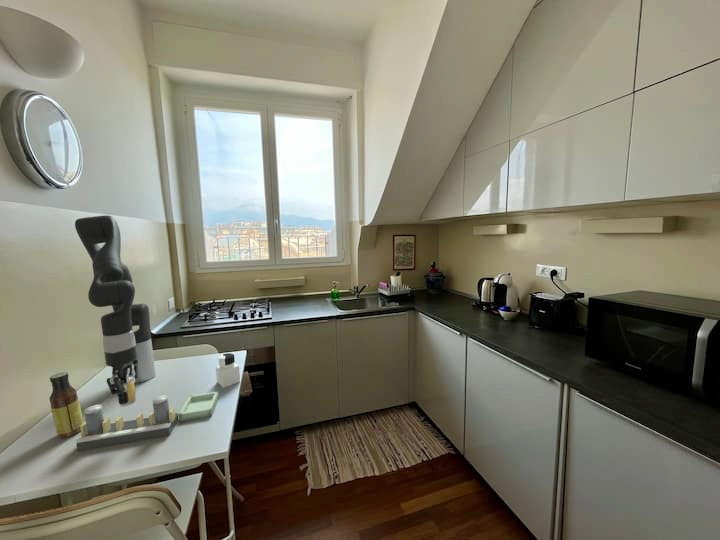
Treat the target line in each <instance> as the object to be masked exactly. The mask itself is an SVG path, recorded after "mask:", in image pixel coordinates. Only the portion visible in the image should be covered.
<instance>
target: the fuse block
mask: <svg viewBox="0 0 720 540" xmlns="http://www.w3.org/2000/svg"><path fill="white" fill-rule="evenodd" d="M178 414H179V413H178V412H176V411H175V407H172V408H170V409H169V419H170V421H169V422H168V423H165V424H159V425H155V417H154V410H153V411H151V412H150V413H149V415H148V417H145V418H144V412H140V413H138V415H137V416H136V417H135V419H132V420H126V421H124V418H123V415H120V416H118V417H117V418H116V420H114V422H113V423H111V418H110V417H106V419H104V422H103V423H102V426H103V433H102V434H99V435H92V436H88V433H87V427H86V421H83V424H82V425H81V426H80V430H81V431H80V435H81V437H79V438H78V439H77V440H76V442H75V443H76V450H77V452H81V451H88V450H92V449H98V448H99V449H100V448H105V447H111V446H116V445H122V444H127V443H134V442H139V441H144V440H149V439H157V438H162V437H169V436H170V435H171V434H172V432H173V430H174V429H175V427H176V425H177V423H178V422H179V416H178Z"/></svg>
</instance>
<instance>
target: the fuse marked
mask: <svg viewBox="0 0 720 540" xmlns="http://www.w3.org/2000/svg"><path fill="white" fill-rule="evenodd" d="M123 381H125V380H120V382H123ZM134 385H135V383H134V381H133V376H131V375H130V376H129V382H128V383H127V393H128V400H129V401H128V402H127V403H126V404H119V406H120V407H129V406H131V405H133V404H134V403H136V402H137V397H136V393H135V392H136V387H135V388H134ZM122 387H123V385H122Z"/></svg>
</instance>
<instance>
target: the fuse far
mask: <svg viewBox="0 0 720 540" xmlns="http://www.w3.org/2000/svg"><path fill="white" fill-rule="evenodd" d="M169 405H170V404H169V396H168V394H167V395H165V394H162V395H159V396H156V397H154V398H153V399H152V408H153V411H154V417H155V425H159V424H165V423H168V422H169V421H170V419H169V411H170V406H169Z"/></svg>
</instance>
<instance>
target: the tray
mask: <svg viewBox="0 0 720 540" xmlns="http://www.w3.org/2000/svg"><path fill="white" fill-rule="evenodd" d="M219 394H220V393H219V391H213V392H205V393H199V394H193V395H189V396H188V397H187V399H186V401H185V402H184V404H183V406H182V407H181V409H180V411H179V413H178V422H183V421H184V422H185V421H191V420H197V419H202V418H203V419H204V418H208V417H212V416H213V413H214V411H215V409H216V406H217V403H218V401H219V399H220V396H219Z"/></svg>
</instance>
